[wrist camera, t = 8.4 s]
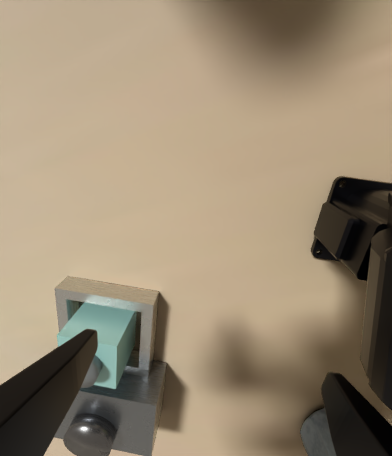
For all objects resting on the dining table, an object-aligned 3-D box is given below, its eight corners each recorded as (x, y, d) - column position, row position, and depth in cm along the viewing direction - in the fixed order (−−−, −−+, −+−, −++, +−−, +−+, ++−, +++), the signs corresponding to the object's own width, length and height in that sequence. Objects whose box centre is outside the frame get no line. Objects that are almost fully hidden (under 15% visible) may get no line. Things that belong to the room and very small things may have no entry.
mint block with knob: (137, 305, 24) (110, 359, 18) (135, 343, 26) (110, 403, 20) (88, 297, 24) (46, 347, 18) (89, 335, 26) (52, 391, 20)
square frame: (174, 294, 23) (159, 343, 17) (161, 410, 29) (147, 474, 24) (53, 273, 24) (1, 315, 18) (65, 392, 30) (29, 450, 24)
